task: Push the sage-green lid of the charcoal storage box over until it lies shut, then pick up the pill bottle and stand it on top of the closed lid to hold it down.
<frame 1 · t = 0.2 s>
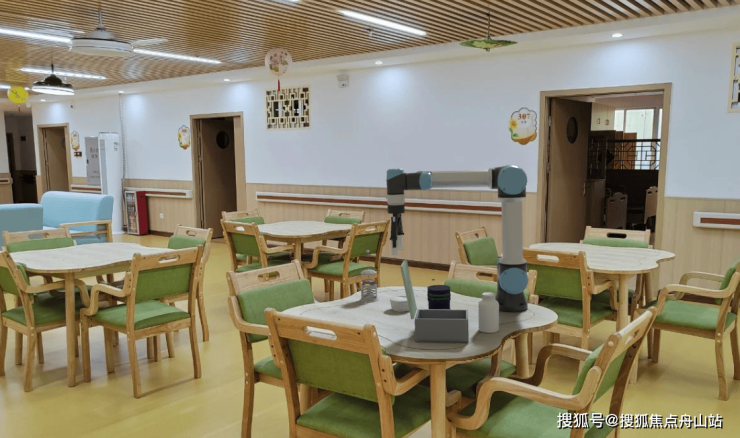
hand: (397, 252, 257), 28 cm above the table, tool pointing down, fingers open, 13 cm apart
box lid: (408, 288, 227), point 19 cm above the table, hinge at 100.0°
pill bottle: (488, 331, 233), on the table
storage jar: (439, 322, 247), on the table
french press: (367, 300, 289), on the table
ramekin: (402, 309, 270), on the table
storage box: (442, 336, 227), on the table
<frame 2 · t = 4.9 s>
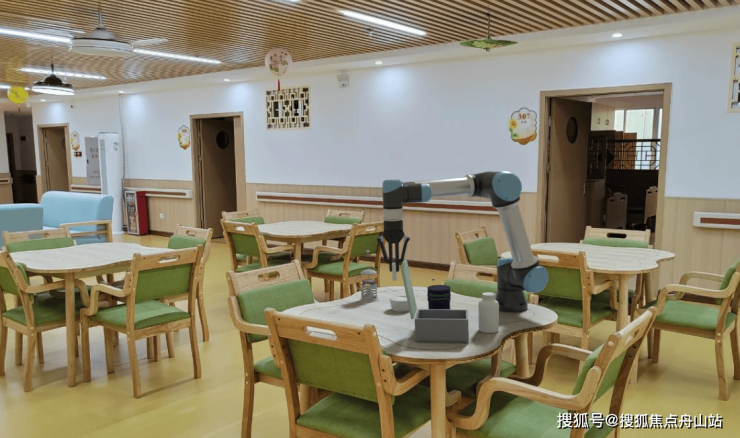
hand: (394, 279, 228), 23 cm above the table, tool pointing down, fingers closed
box lid: (408, 288, 227), point 19 cm above the table, hinge at 99.9°, touching gripper
everything else where it was.
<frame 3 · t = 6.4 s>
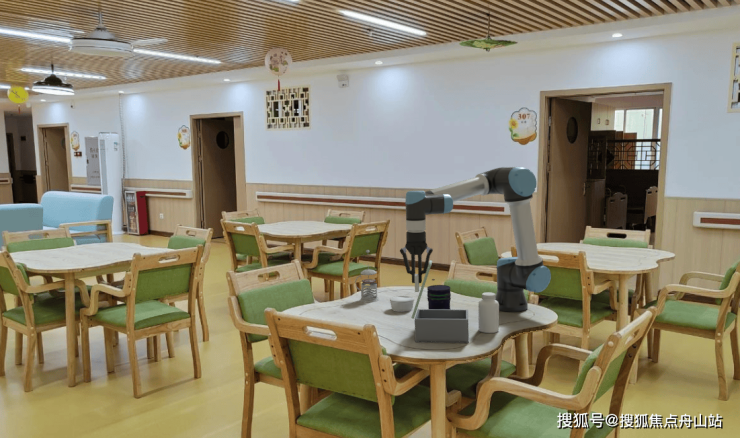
hand: (417, 291, 227), 18 cm above the table, tool pointing down, fingers closed
box lid: (422, 288, 226), point 19 cm above the table, hinge at 71.1°, touching gripper, hand
everything else where it was.
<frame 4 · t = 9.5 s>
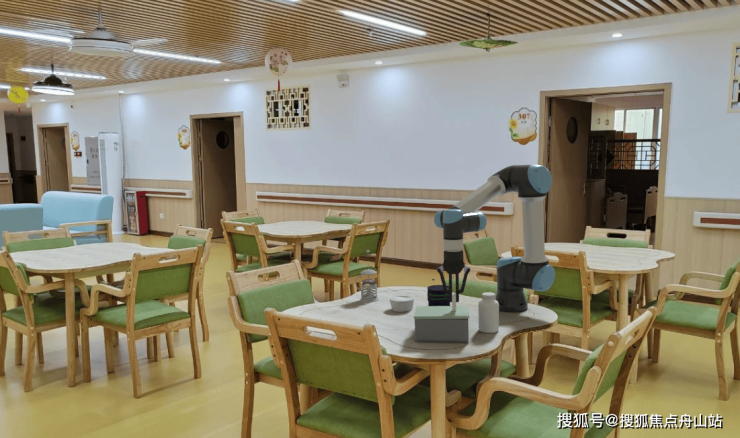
hand: (454, 310, 225), 11 cm above the table, tool pointing down, fingers closed
box lid: (441, 312, 226), point 10 cm above the table, hinge at 0.9°, touching gripper
everything else where it was.
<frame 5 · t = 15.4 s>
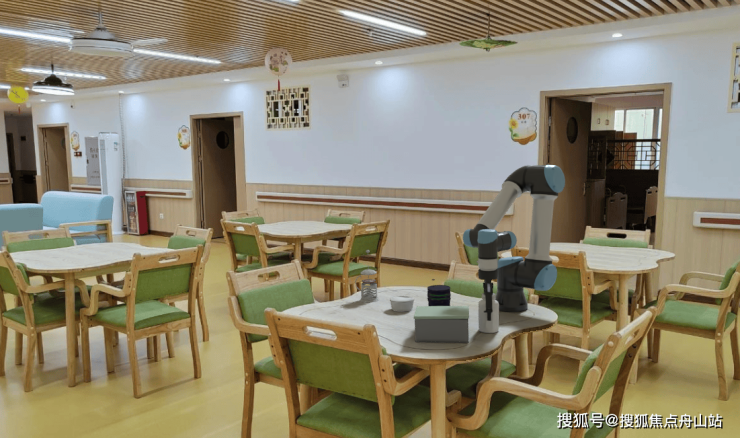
hand: (488, 325, 233), 2 cm above the table, tool pointing down, fingers closed on pill bottle, 8 cm apart
box lid: (441, 312, 226), point 10 cm above the table, hinge at 0.9°
pill bottle: (488, 331, 233), on the table, touching gripper
everything else where it was.
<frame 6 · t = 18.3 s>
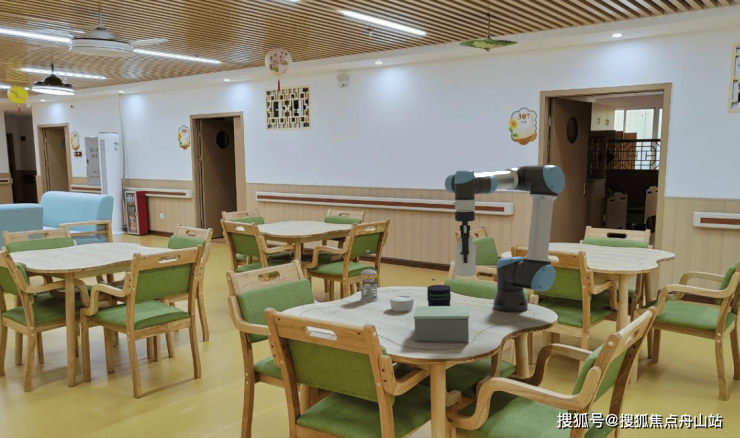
hand: (465, 269, 227), 26 cm above the table, tool pointing down, fingers closed on pill bottle, 8 cm apart
pill bottle: (465, 275, 227), point 23 cm above the table, touching gripper
everything else where it was.
when the fingers open (14 cm above the table, at t = 21.5 s): pill bottle drops 1 cm, resting on box lid.
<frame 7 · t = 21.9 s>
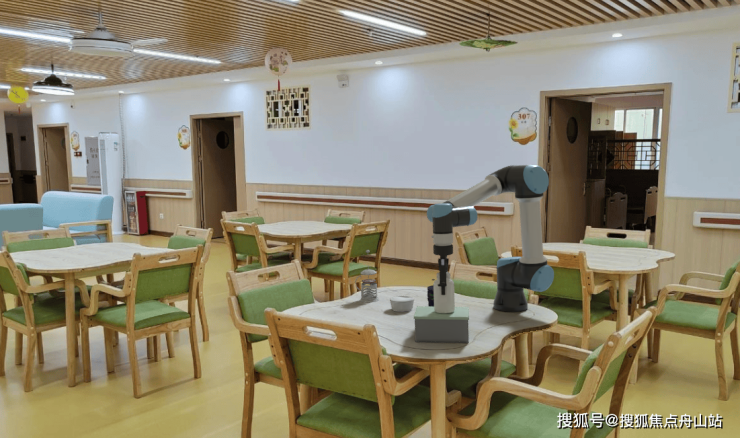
hand: (444, 298, 225), 15 cm above the table, tool pointing down, fingers open, 13 cm apart
box lid: (441, 312, 226), point 10 cm above the table, hinge at -0.3°, touching pill bottle
pill bottle: (444, 311, 226), point 10 cm above the table, touching box lid
everything else where it was.
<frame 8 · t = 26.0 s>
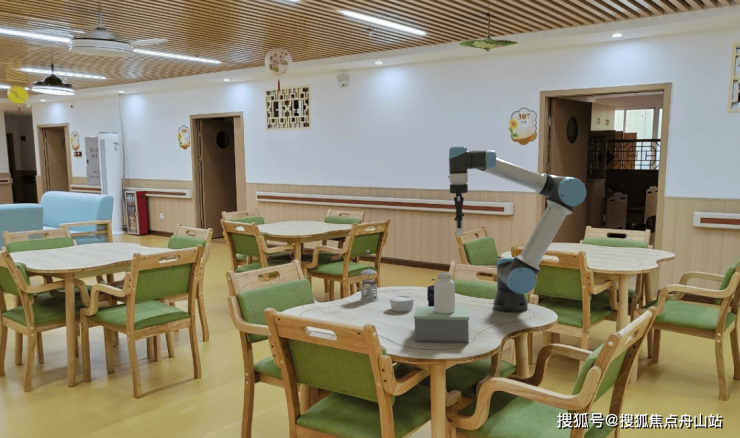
hand: (459, 233, 248), 37 cm above the table, tool pointing down, fingers open, 13 cm apart
nothing on the table moved.
at the end: box lid at +0° (first picture: +100°); pill bottle inside the target area (0.6 cm from its centre), point 9.8 cm above the table; pill bottle tilted 0° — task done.
